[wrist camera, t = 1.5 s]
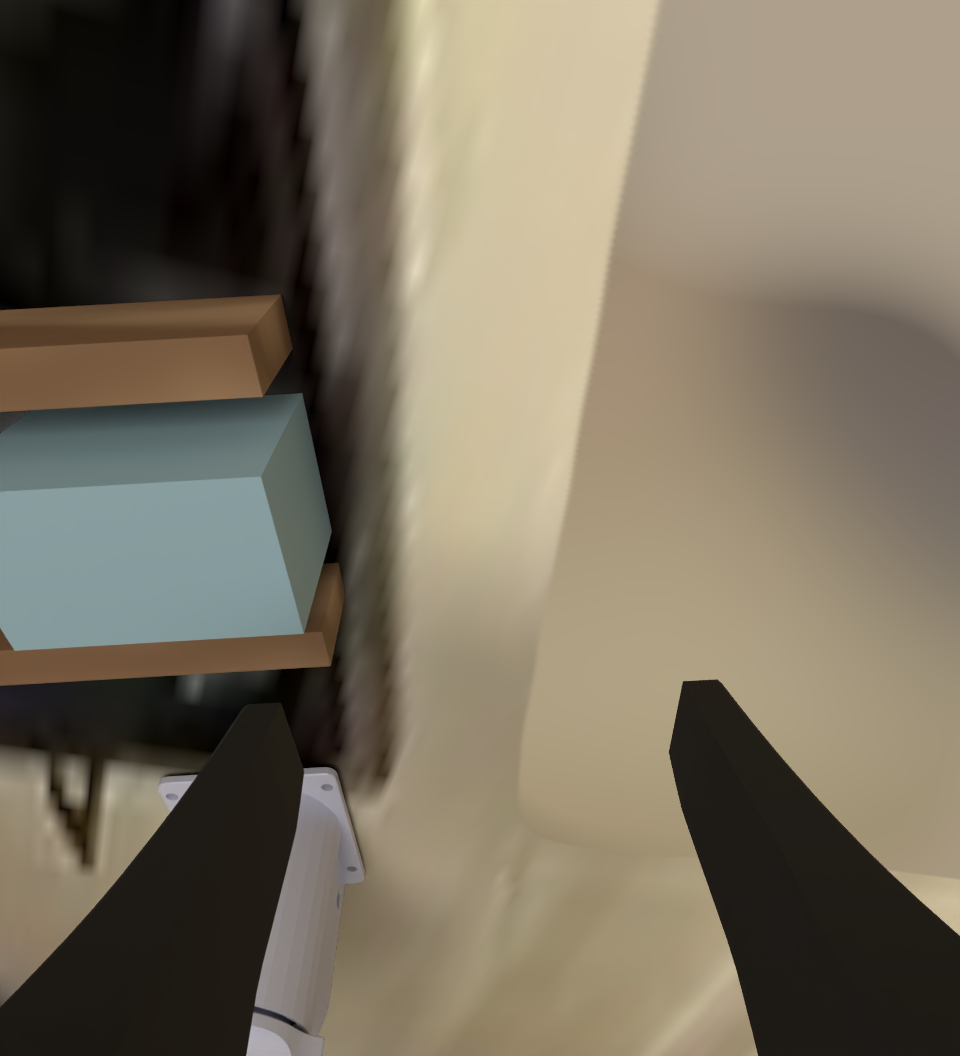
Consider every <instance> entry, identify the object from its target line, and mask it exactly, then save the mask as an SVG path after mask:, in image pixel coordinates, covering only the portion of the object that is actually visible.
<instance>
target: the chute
mask: <svg viewBox="0 0 960 1056" xmlns="http://www.w3.org/2000/svg"><path fill="white" fill-rule="evenodd" d="M292 349H293V348H292V343H291V338H290V334H289V329H288V324H287V320H286V315H285V310H284V306H283V301H282V296H281V295H264V296H246V297H228V298H211V299H193V300H176V301H158V302H140V303H123V304H105V305H87V306H70V307H52V308H35V309H17V310H0V412H8V411H25V410H42V409H60V408H77V407H95V406H112V405H129V404H147V403H164V402H182V401H199V400H217V399H234V398H251V397H263V396H264V394H265V393H266V391H267V389H268V388H269V386H270V385H271V383H272V381H273V380H274V378H275V376H276V375H277V373H278V372H279V370H280V368H281V367H282V365H283V364H284V362H285V360H286V359H287V357H288V355H289V354H290V352H291V351H292ZM344 600H345V591H344V586H343V581H342V577H341V572H340V567H339V563H327V564H323V566H322V569H321V573H320V577H319V580H318V584H317V588H316V591H315V595H314V599H313V602H312V606H311V610H310V613H309V617H308V621H307V624H306V628H305V632H304V634H291V635H274V636H257V637H240V638H223V639H206V640H189V641H172V642H155V643H138V644H121V645H104V646H87V647H70V648H53V649H36V650H19V651H14V649H13V647H12V646H11V644H10V643H9V641H8V639H7V638H6V636H5V635H4V633H3V632H2V630H1V628H0V686H2V685H19V684H36V683H53V682H70V681H86V680H103V679H120V678H137V677H154V676H171V675H188V674H205V673H222V672H239V671H255V670H272V669H289V668H306V667H323V666H331V662H332V657H333V652H334V648H335V643H336V638H337V633H338V629H339V624H340V619H341V614H342V610H343V605H344Z"/></svg>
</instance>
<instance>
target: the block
mask: <svg viewBox="0 0 960 1056" xmlns="http://www.w3.org/2000/svg"><path fill="white" fill-rule="evenodd" d="M331 533H332V530H331V525H330V521H329V516H328V511H327V507H326V502H325V497H324V492H323V488H322V483H321V478H320V474H319V469H318V464H317V460H316V455H315V450H314V446H313V441H312V436H311V432H310V427H309V422H308V418H307V413H306V408H305V404H304V399H303V394H302V393H297V394H280V395H264V396H263V397H251V398H234V399H217V400H199V401H182V402H164V403H147V404H129V405H112V406H95V407H77V408H60V409H42V410H31V411H29V412H28V413H27V414H25V415H24V416H23V417H21V418H20V419H19V420H17V421H16V422H15V423H13V424H12V425H11V426H9V427H8V428H7V429H5V430H4V431H3V432H1V433H0V628H1V630H2V632H3V633H4V635H5V636H6V638H7V639H8V641H9V643H10V644H11V646H12V647H13V649H14V651H19V650H36V649H53V648H70V647H87V646H104V645H121V644H138V643H155V642H172V641H189V640H206V639H223V638H240V637H257V636H274V635H291V634H304V632H305V628H306V624H307V621H308V617H309V613H310V610H311V606H312V602H313V599H314V595H315V591H316V588H317V584H318V580H319V577H320V573H321V569H322V566H323V562H324V558H325V555H326V551H327V547H328V544H329V540H330V536H331Z"/></svg>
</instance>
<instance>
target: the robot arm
mask: <svg viewBox="0 0 960 1056" xmlns="http://www.w3.org/2000/svg"><path fill="white" fill-rule="evenodd" d="M669 755H670V760H671V764H672V768H673V773H674V778H675V782H676V787H677V791H678V795H679V799H680V803H681V808H682V811H683V814H684V817H685V820H686V823H687V825H688V829H689V832H690V835H691V837H692V840H693V843H694V846H695V849H696V852H697V855H698V858H699V861H700V863H701V866H702V869H703V872H704V875H705V878H706V881H707V883H708V886H709V889H710V892H711V895H712V898H713V901H714V903H715V906H716V909H717V912H718V915H719V918H720V921H721V923H722V926H723V929H724V932H725V935H726V938H727V941H728V944H729V947H730V950H731V954H732V957H733V960H734V963H735V966H736V970H737V974H738V977H739V981H740V985H741V989H742V993H743V997H744V1001H745V1005H746V1009H747V1013H748V1016H749V1020H750V1024H751V1028H752V1032H753V1036H754V1040H755V1044H756V1048H757V1053H758V1056H960V936H959V935H958V934H957V933H956V932H955V931H954V930H952V929H951V928H950V927H949V926H948V925H947V924H946V923H945V922H943V921H942V920H941V919H940V918H939V917H938V916H937V915H936V914H934V913H933V912H932V911H931V910H930V909H929V908H928V907H927V906H925V905H924V904H923V903H922V902H921V901H920V900H919V899H918V898H917V897H916V896H914V895H913V894H912V893H911V892H910V891H909V890H908V889H907V888H906V887H905V886H904V885H903V884H902V883H900V882H899V881H898V880H897V879H896V878H895V877H894V876H893V875H892V874H891V873H890V872H889V871H888V870H887V869H886V868H885V867H884V866H883V865H881V864H880V863H879V862H878V861H877V860H876V859H875V858H874V857H873V856H872V855H871V854H870V853H869V852H868V851H867V850H866V849H865V848H864V847H863V846H862V845H861V844H860V843H859V842H858V841H857V840H856V838H854V837H853V835H852V834H851V833H850V832H848V830H847V829H846V828H845V827H844V826H843V825H842V824H841V823H840V822H839V821H838V820H837V819H836V818H835V817H834V816H833V815H832V813H831V812H830V811H829V810H828V809H827V808H826V807H825V806H824V805H823V804H822V803H821V802H820V801H819V800H818V798H817V797H816V796H815V795H814V794H813V793H812V792H811V791H810V789H809V788H808V787H807V786H806V785H805V784H804V783H803V781H802V780H801V779H800V778H799V777H798V776H797V775H796V774H795V772H794V771H793V770H792V769H791V768H790V767H789V766H788V764H787V763H786V762H785V761H784V760H783V759H782V758H781V756H780V755H779V754H778V753H777V752H776V750H775V749H774V748H773V747H772V746H771V744H770V743H769V742H768V741H767V740H766V738H765V737H764V736H763V735H762V733H761V732H760V731H759V730H758V729H757V727H756V726H755V725H754V724H753V723H752V721H751V720H750V719H749V718H748V716H747V715H746V714H745V712H744V711H743V710H742V709H741V708H740V706H739V705H738V704H737V702H736V701H735V700H734V698H733V697H732V696H731V695H730V693H729V692H728V691H727V689H726V688H725V687H724V686H723V684H722V683H721V682H719V681H718V680H702V681H701V680H700V681H683V685H682V689H681V694H680V699H679V704H678V709H677V714H676V719H675V724H674V729H673V734H672V739H671V745H670V749H669ZM157 789H158V791H159V793H160V795H161V797H162V799H163V800H164V802H165V804H166V806H167V808H168V809H169V811H170V814H169V815H168V816H167V818H166V819H165V820H164V822H163V823H162V824H161V826H160V827H159V828H158V830H157V831H156V832H155V834H154V835H153V836H152V837H151V839H150V840H149V841H148V842H147V844H146V845H145V846H144V847H143V849H142V850H141V851H140V852H139V854H138V855H137V856H136V857H135V859H134V860H133V861H132V862H131V864H130V865H129V866H128V868H127V869H126V870H125V871H124V873H123V874H122V875H121V876H120V877H119V879H118V880H117V881H116V882H115V883H114V885H113V886H112V887H111V888H110V889H109V891H108V892H107V893H106V894H105V895H104V896H103V898H102V899H101V900H100V901H99V902H98V903H97V905H96V906H95V907H94V908H93V909H92V910H91V912H90V913H89V914H88V915H87V916H86V917H85V918H84V919H83V920H82V922H81V923H80V924H79V925H78V926H77V927H76V928H75V929H74V930H73V932H72V933H71V934H70V935H69V936H68V937H67V938H66V939H65V940H64V942H63V943H62V944H61V945H60V946H59V947H58V948H57V949H56V950H55V951H54V952H53V953H52V954H51V955H50V956H49V957H48V958H47V959H46V961H45V962H44V963H43V964H42V965H41V966H40V967H39V968H38V969H37V970H36V971H35V972H34V973H33V974H32V975H31V976H30V977H29V978H28V979H27V980H26V981H25V983H24V984H23V985H22V986H21V987H20V988H19V989H18V990H17V991H16V992H15V993H14V994H13V995H12V996H11V997H10V998H9V999H8V1000H7V1001H6V1002H5V1003H4V1004H3V1005H2V1006H1V1007H0V1056H322V1055H323V1048H324V1040H325V1039H324V1038H323V1037H319V1036H317V1035H318V1033H319V1031H320V1029H321V1027H322V1024H323V1022H324V1019H325V1016H326V1013H327V1009H328V1005H329V999H330V992H331V985H332V977H333V970H334V962H335V955H336V948H337V940H338V933H339V925H340V918H341V911H342V903H343V896H344V888H345V884H356V883H360V882H362V881H363V880H364V876H365V870H364V867H363V863H362V860H361V856H360V852H359V849H358V845H357V842H356V838H355V835H354V831H353V827H352V824H351V820H350V817H349V813H348V810H347V806H346V803H345V799H344V795H343V792H342V788H341V785H340V781H339V778H338V774H337V772H336V771H335V770H334V769H332V768H329V767H317V768H303V766H302V763H301V760H300V757H299V755H298V752H297V749H296V746H295V743H294V740H293V737H292V734H291V731H290V728H289V725H288V723H287V720H286V717H285V714H284V711H283V708H282V705H281V703H267V704H248V705H246V706H245V707H244V708H243V709H242V710H241V712H240V713H239V715H238V716H237V718H236V719H235V721H234V722H233V724H232V725H231V727H230V728H229V730H228V731H227V733H226V734H225V736H224V737H223V739H222V740H221V742H220V743H219V745H218V746H217V748H216V749H215V751H214V752H213V754H212V755H211V756H210V758H209V759H208V761H207V762H206V764H205V765H204V767H203V768H202V769H201V771H200V772H199V774H198V775H183V776H168V777H164V778H162V779H161V780H160V782H159V784H158V787H157Z"/></svg>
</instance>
